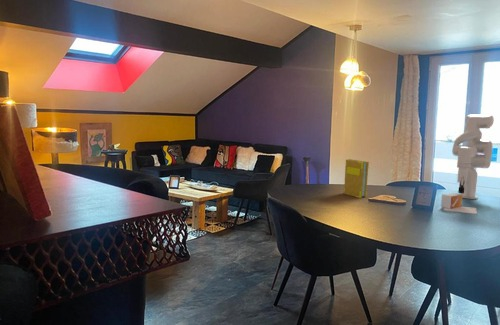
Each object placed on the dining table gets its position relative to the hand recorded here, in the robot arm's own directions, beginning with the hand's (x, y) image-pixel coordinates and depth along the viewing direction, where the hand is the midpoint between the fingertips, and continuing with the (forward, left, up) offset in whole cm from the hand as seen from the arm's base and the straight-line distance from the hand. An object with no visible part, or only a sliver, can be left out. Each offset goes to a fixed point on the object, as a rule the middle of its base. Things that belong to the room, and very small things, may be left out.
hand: (461, 193), depth 253 cm
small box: (+8, -2, -3) cm, 8 cm away
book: (+11, -67, -8) cm, 68 cm away
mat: (+16, 0, -8) cm, 18 cm away
